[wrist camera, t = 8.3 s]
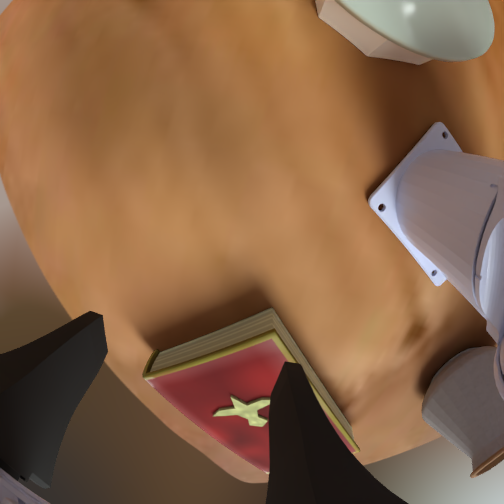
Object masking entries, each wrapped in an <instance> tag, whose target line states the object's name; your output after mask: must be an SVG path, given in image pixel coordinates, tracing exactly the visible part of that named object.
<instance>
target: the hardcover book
mask: <svg viewBox="0 0 504 504" xmlns="http://www.w3.org/2000/svg"><path fill="white" fill-rule="evenodd" d="M285 361H286V362H292V363H299V364H301V365H302V367H303V369H304V372H305V374H306V376H307V378H308V381H309V383H310V385H311V387H312V389H313V391H314V393H315V395H316V397H317V399H318V401H319V403H320V405H321V407H322V409H323V410H324V412H325V414H326V416H327V418H328V419H329V421H330V423H331V424H332V426H333V427H334V429H335V431H336V432H337V434H338V435H339V437H340V438H341V439H342V441H343V442H344V444H345V445H346V446H347V448H348V449H349V450H350V451H351V453H352V454H354V453H357V452H360V448H359V447H358V446H357V444H356V443H355V442H354V437H353V432H352V427H351V426H350V424H349V423H348V421H347V420H346V418H345V417H344V415H343V414H342V412H341V411H340V409H339V408H338V407H337V405H336V404H335V402H334V401H333V399H332V398H331V396H330V395H329V393H328V391H327V390H326V388H325V387H324V385H323V384H322V382H321V381H320V379H319V378H318V376H317V375H316V373H315V372H314V370H313V369H312V367H311V366H310V364H309V363H308V361H307V360H306V358H305V357H304V355H303V354H302V352H301V351H300V349H299V347H298V346H297V344H296V343H295V341H294V340H293V338H292V337H291V335H290V334H289V332H288V331H287V329H286V328H285V326H284V324H283V323H282V321H281V320H280V318H279V317H278V315H277V314H276V312H275V311H274V309H273V307H272V308H269V309H267V310H265V311H263V312H260V313H258V314H256V315H253V316H251V317H249V318H246V319H244V320H241V321H239V322H237V323H234V324H232V325H229V326H227V327H225V328H222V329H220V330H217V331H215V332H212V333H210V334H207V335H205V336H202V337H199V338H197V339H194V340H192V341H189V342H186V343H184V344H181V345H178V346H176V347H173V348H170V349H168V350H165V351H162V352H159V350H158V349H156V350H154V352H153V353H152V355H151V356H150V358H149V360H148V362H147V364H146V366H145V368H144V371H143V374H142V375H143V378H144V379H145V380H146V381H147V382H148V383H149V384H150V385H151V386H152V387H153V388H154V389H155V390H157V391H158V392H159V393H160V394H161V395H162V396H163V397H164V398H165V399H166V400H168V401H169V402H170V403H171V404H172V405H173V406H174V407H175V408H177V409H178V410H179V411H180V412H181V413H183V414H184V415H185V416H186V417H187V418H189V419H190V420H191V421H192V422H193V423H195V424H196V425H197V426H198V427H200V428H201V429H202V430H204V431H205V432H206V433H208V434H209V435H210V436H212V437H213V438H214V439H216V440H217V441H218V442H220V443H221V444H222V445H224V446H225V447H227V448H228V449H230V450H231V451H233V452H234V453H235V454H237V455H238V456H240V457H241V458H243V459H245V460H246V461H248V462H249V463H251V464H252V465H254V466H256V467H257V468H259V469H260V470H262V471H264V472H265V473H267V474H268V473H269V467H270V459H269V406H270V397H271V392H272V390H273V388H274V385H275V383H276V381H277V379H278V376H279V374H280V372H281V369H282V367H283V364H284V362H285Z"/></svg>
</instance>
